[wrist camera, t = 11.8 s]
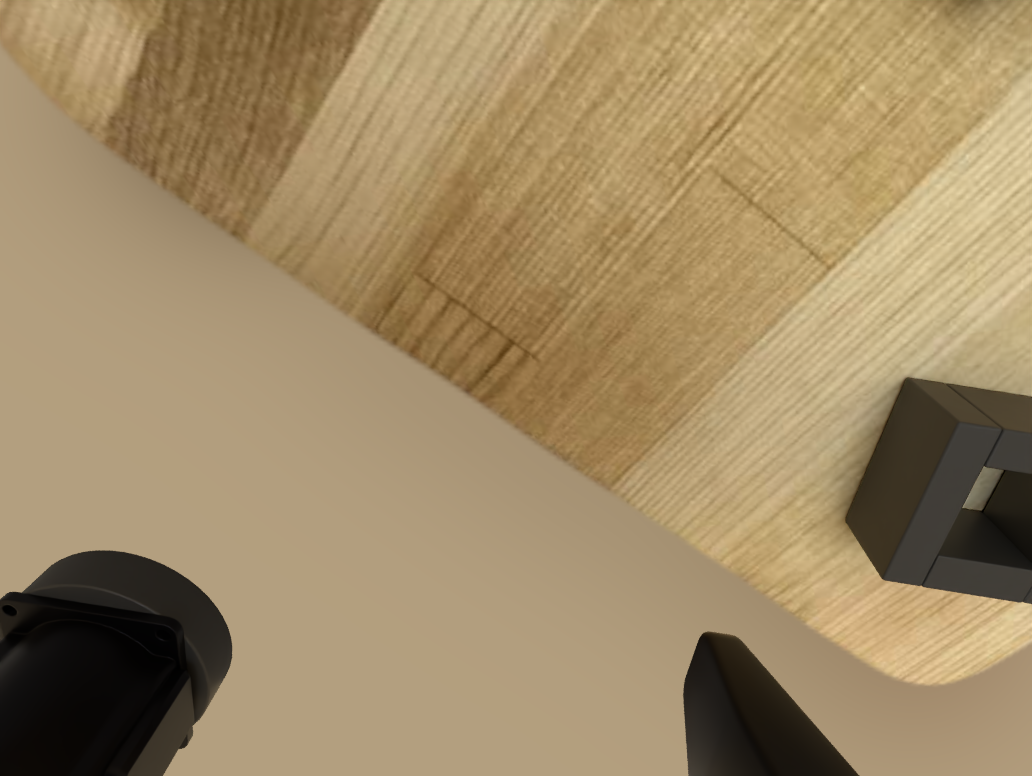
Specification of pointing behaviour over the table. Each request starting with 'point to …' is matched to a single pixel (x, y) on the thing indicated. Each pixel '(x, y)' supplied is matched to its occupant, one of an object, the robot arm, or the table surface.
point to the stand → (950, 492)
